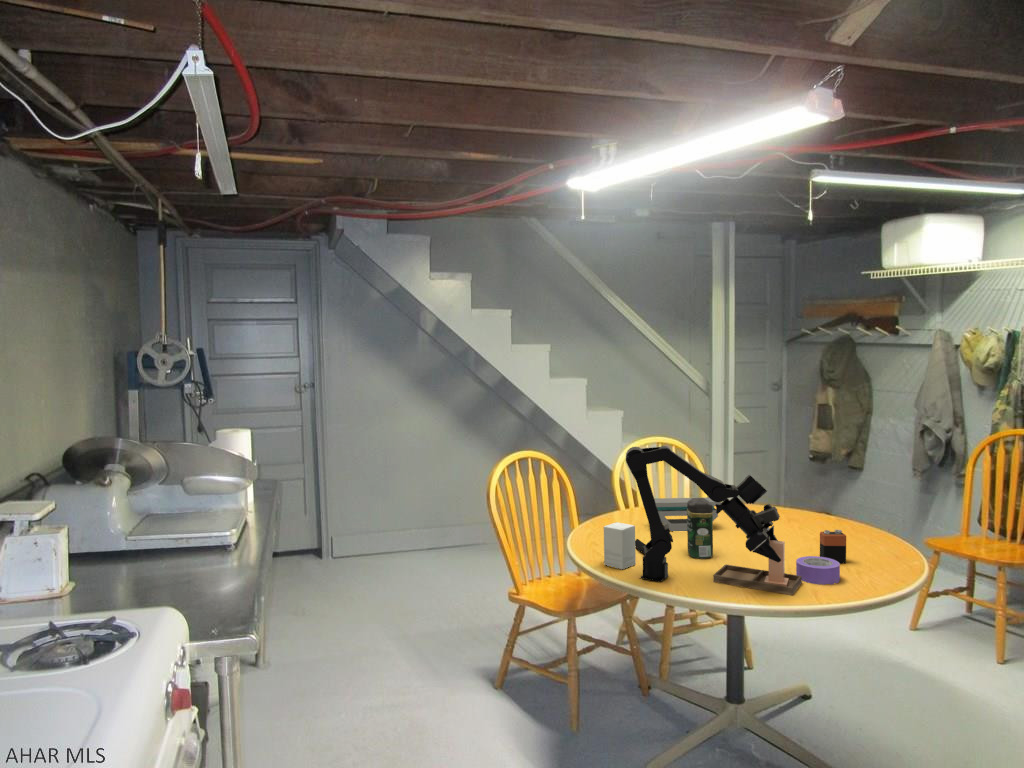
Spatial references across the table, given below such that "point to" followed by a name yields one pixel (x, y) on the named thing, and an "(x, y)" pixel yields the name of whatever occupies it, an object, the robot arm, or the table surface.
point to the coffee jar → (700, 528)
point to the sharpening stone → (677, 511)
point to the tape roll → (818, 570)
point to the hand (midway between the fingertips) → (781, 556)
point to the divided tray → (754, 579)
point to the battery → (833, 545)
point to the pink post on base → (777, 565)
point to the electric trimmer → (640, 545)
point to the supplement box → (619, 545)
